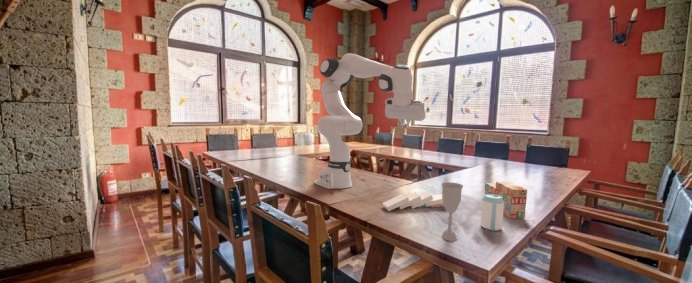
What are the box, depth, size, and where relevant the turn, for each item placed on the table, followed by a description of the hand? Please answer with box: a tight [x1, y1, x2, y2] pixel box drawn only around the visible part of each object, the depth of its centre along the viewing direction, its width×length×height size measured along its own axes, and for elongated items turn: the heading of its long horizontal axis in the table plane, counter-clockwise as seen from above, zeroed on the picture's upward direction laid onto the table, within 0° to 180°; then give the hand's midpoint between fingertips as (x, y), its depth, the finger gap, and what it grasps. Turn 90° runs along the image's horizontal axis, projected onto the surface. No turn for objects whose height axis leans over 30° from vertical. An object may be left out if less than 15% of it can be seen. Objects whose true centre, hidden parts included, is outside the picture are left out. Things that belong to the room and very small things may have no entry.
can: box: [480, 193, 504, 232], centre depth 108 cm, size 7×7×12 cm
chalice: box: [440, 182, 464, 242], centre depth 98 cm, size 7×7×18 cm
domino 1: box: [382, 193, 409, 212], centre depth 127 cm, size 2×6×10 cm
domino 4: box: [423, 193, 443, 207], centre depth 131 cm, size 2×6×10 cm
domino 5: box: [429, 203, 445, 208], centre depth 134 cm, size 2×6×10 cm
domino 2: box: [398, 192, 422, 210], centre depth 129 cm, size 2×6×10 cm
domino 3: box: [409, 191, 433, 210], centre depth 130 cm, size 2×6×10 cm
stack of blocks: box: [484, 181, 528, 220], centre depth 128 cm, size 21×6×12 cm, turn 1°
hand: (405, 127), depth 144 cm, fingers closed
